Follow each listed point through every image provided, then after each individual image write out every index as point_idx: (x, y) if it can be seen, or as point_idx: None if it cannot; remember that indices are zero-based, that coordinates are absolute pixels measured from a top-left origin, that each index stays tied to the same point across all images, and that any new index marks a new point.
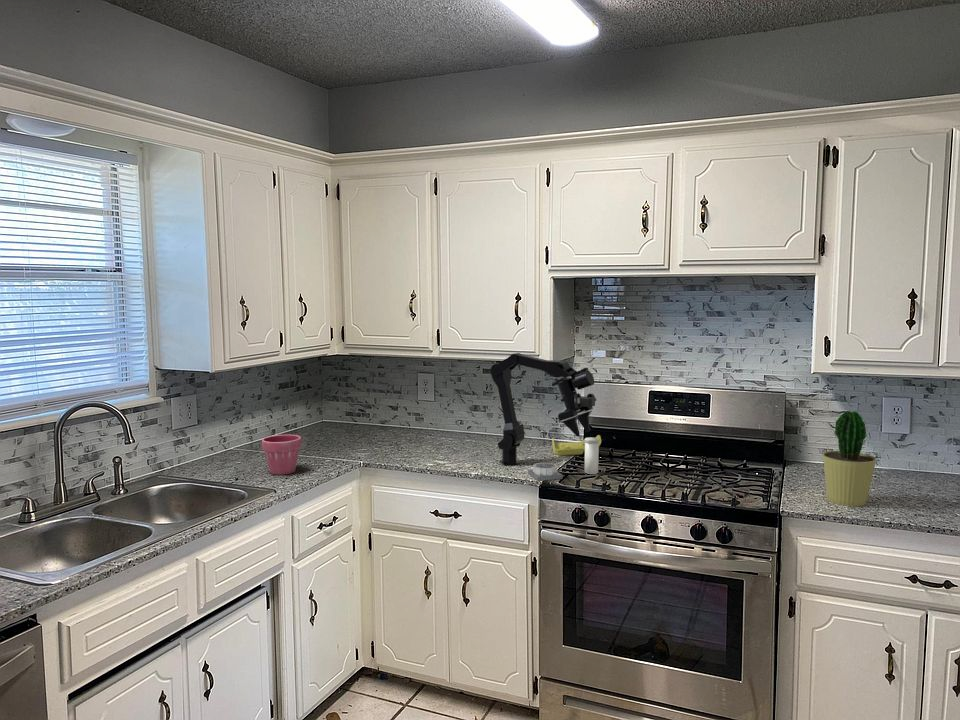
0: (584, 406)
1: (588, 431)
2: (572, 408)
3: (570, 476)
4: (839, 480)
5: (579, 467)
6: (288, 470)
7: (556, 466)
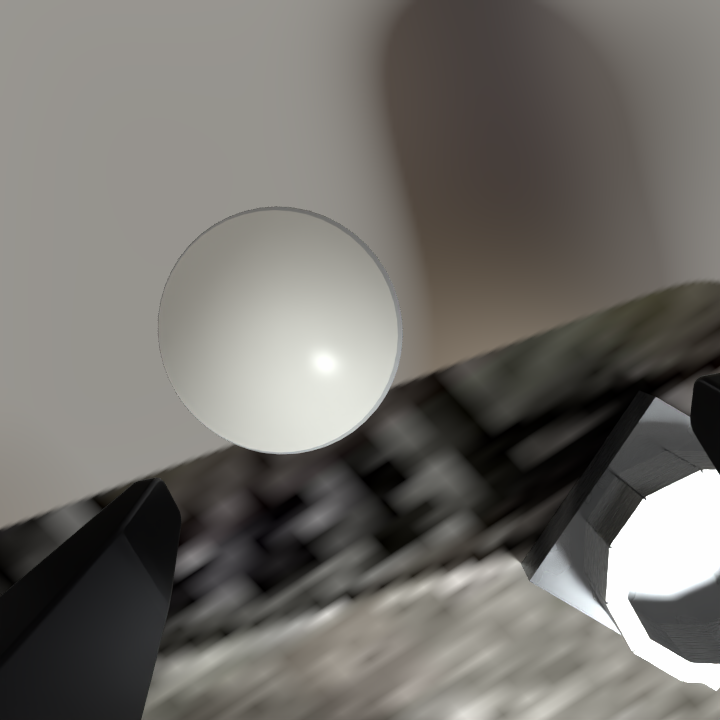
0: None
1: (166, 489)
2: None
3: (531, 385)
4: None
5: (252, 486)
6: None
7: (678, 484)
